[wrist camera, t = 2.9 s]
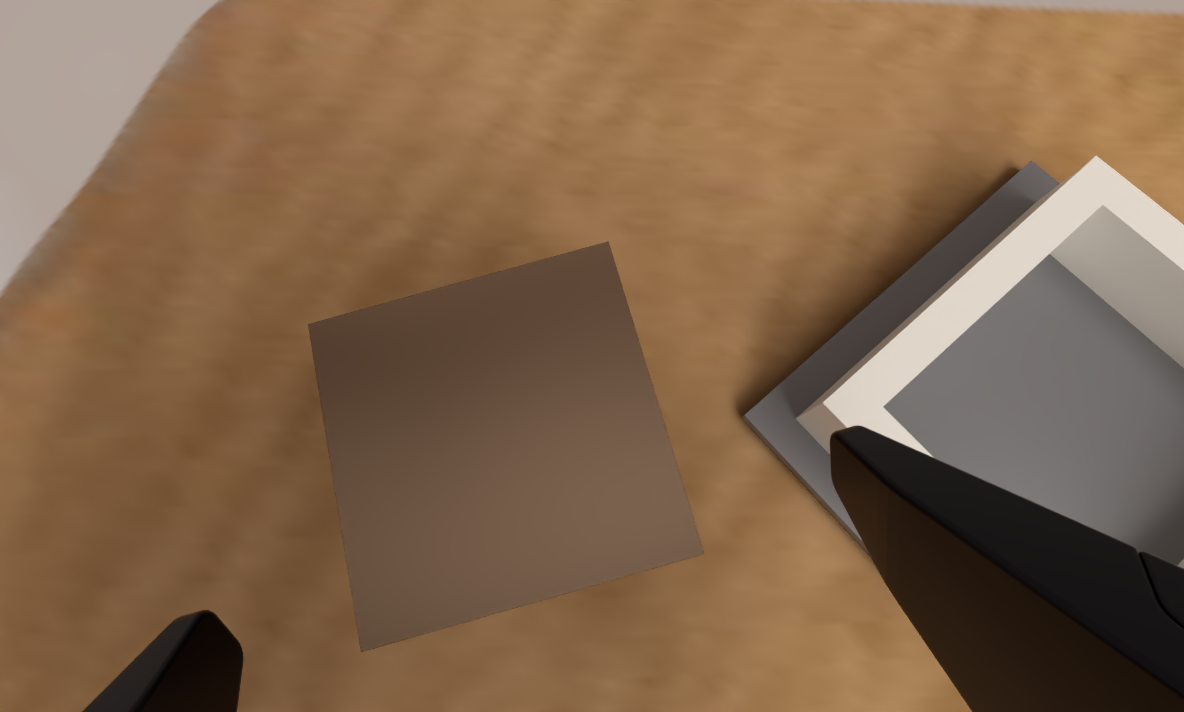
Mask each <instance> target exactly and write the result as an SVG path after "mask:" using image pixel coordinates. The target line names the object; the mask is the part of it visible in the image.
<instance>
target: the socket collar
mask: <svg viewBox="0 0 1184 712" xmlns="http://www.w3.org/2000/svg"><path fill="white" fill-rule="evenodd" d="M742 419H743V420H744V422H745V423H746V424H747V425H748V426H749V427H750V428H751V429H752V430H753V431H754V432H755V433H756V434H757V435H758V437H759V438H760V439H761V440H762V441H763V442H764V443H765V444H766V445H767V446H768V447H769V448H770V449H771V450H772V452H773V453H774V454H775V455H776V456H777V457H778V458H779V459H780V460H781V461H782V462H783V463H784V464H785V465H786V467H787V468H788V469H789V470H790V471H791V472H792V473H793V474H794V475H795V476H796V477H797V478H798V479H799V481H800V482H801V483H802V484H803V485H804V486H805V487H806V488H807V489H808V490H809V491H810V492H811V493H812V494H813V496H814V497H815V498H816V499H817V500H818V501H819V502H820V503H821V504H822V505H823V506H824V507H825V508H826V509H827V511H828V512H829V513H830V514H831V515H832V516H833V517H834V518H835V519H836V520H837V521H838V522H839V523H840V524H841V526H842V527H843V528H844V529H845V530H846V531H847V532H848V533H849V534H850V535H851V536H852V537H853V538H854V540H855V541H856V542H857V543H858V544H859V545H860V546H861V547H862V548H863V549H864V550H865V551H866V552H867V553H868V555H869V556H870V554H869V552H868V551H867V549H866V547H865V545H864V543H863V541H862V539H861V537H860V536H859V534H858V532H857V530H856V528H855V526H854V524H853V522H852V521H851V519H850V517H849V515H848V513H847V511H846V509H845V507H844V505H843V504H842V502H841V500H840V498H839V496H838V494H837V492H836V490H835V488H834V485H833V482H832V478H831V464H830V437H831V434H832V433H833V432H835V431H838V430H841V429H845V428H848V427H852V426H857V425H859V426H863V427H866V428H868V429H871V430H873V431H875V432H877V433H880V434H882V435H884V436H886V437H889V438H891V439H893V440H895V441H898V442H900V443H902V444H904V445H907V446H909V447H911V448H913V449H916V450H918V451H920V452H922V453H925V454H927V455H929V456H931V457H934V458H936V459H938V460H940V461H943V462H945V463H947V464H949V465H952V466H954V467H956V468H958V469H961V470H963V471H965V472H967V473H970V474H972V475H974V476H976V477H979V478H981V479H983V480H985V481H988V482H990V483H992V484H994V485H997V486H999V487H1001V488H1003V489H1006V490H1008V491H1010V492H1012V493H1015V494H1017V495H1019V496H1021V497H1024V498H1026V499H1028V500H1030V501H1033V502H1035V503H1037V504H1039V505H1042V506H1044V507H1046V508H1048V509H1051V510H1053V511H1055V512H1057V513H1060V514H1062V515H1064V516H1066V517H1069V518H1071V519H1073V520H1075V521H1078V522H1080V523H1082V524H1084V525H1087V526H1089V527H1091V528H1093V529H1096V530H1098V531H1100V532H1102V533H1105V534H1107V535H1109V536H1111V537H1114V538H1116V539H1118V540H1120V541H1123V542H1125V543H1127V544H1129V545H1132V546H1134V547H1135V548H1136V549H1137V550H1138V552H1141V551H1146V552H1148V553H1150V554H1152V555H1155V556H1157V557H1159V558H1161V559H1164V560H1166V561H1168V562H1171V563H1173V564H1175V565H1177V566H1180V567H1182V568H1184V225H1183V224H1182V223H1181V222H1179V221H1178V220H1177V219H1175V218H1174V217H1173V216H1172V215H1170V214H1169V213H1168V212H1167V211H1165V210H1164V209H1163V208H1162V207H1160V206H1159V205H1158V204H1157V203H1155V202H1154V201H1153V200H1152V199H1150V198H1149V197H1148V196H1147V195H1145V194H1144V193H1143V192H1141V191H1140V190H1139V189H1138V188H1136V187H1135V186H1134V185H1133V184H1131V183H1130V182H1129V181H1128V180H1126V179H1125V178H1124V177H1123V176H1121V175H1120V174H1119V173H1118V172H1116V171H1115V170H1114V169H1112V168H1111V167H1110V166H1109V165H1107V164H1106V163H1105V162H1104V161H1102V160H1101V159H1100V158H1099V157H1097V156H1095V157H1094V158H1093V159H1091V160H1090V161H1089V162H1087V163H1086V164H1085V165H1083V166H1082V167H1081V168H1080V169H1078V170H1077V171H1076V172H1074V173H1073V174H1072V175H1071V176H1069V177H1068V178H1067V179H1065V180H1064V181H1063V182H1062V183H1060V184H1059V183H1058V182H1057V181H1056V180H1054V179H1053V178H1052V177H1051V176H1050V175H1048V174H1047V173H1046V172H1045V171H1043V170H1042V169H1041V168H1040V167H1039V166H1037V165H1036V164H1035V163H1034V162H1032V161H1030V162H1029V163H1028V164H1027V165H1026V166H1025V167H1024V168H1022V169H1021V170H1020V171H1019V172H1018V173H1017V174H1016V175H1015V176H1013V177H1012V178H1011V179H1010V180H1009V181H1008V182H1007V183H1006V184H1004V185H1003V186H1002V187H1001V188H1000V189H999V190H998V191H996V192H995V193H994V194H993V195H992V196H991V197H990V198H989V199H987V200H986V201H985V202H984V203H983V204H982V205H981V206H980V207H978V208H977V209H976V210H975V211H974V212H973V213H972V214H971V215H969V216H968V217H967V218H966V219H965V220H964V221H963V222H962V223H960V224H959V225H958V226H957V227H956V228H955V229H954V230H953V231H951V232H950V233H949V234H948V235H947V236H946V237H945V238H944V239H942V240H941V241H940V242H939V243H938V244H937V245H936V246H934V247H933V248H932V249H931V250H930V251H929V252H928V253H927V254H925V255H924V256H923V257H922V258H921V259H920V260H919V261H918V262H916V263H915V264H914V265H913V266H912V267H911V268H910V269H909V270H907V271H906V272H905V273H904V274H903V275H902V276H901V277H900V278H898V279H897V280H896V281H895V282H894V283H893V284H892V285H891V286H889V287H888V288H887V289H886V290H885V291H884V292H883V293H882V294H880V295H879V296H878V297H877V298H876V299H875V300H874V301H872V302H871V303H870V304H869V305H868V306H867V307H866V308H865V309H863V310H862V311H861V312H860V313H859V314H858V315H857V316H856V317H854V318H853V319H852V320H851V321H850V322H849V323H848V324H847V325H845V326H844V327H843V328H842V329H841V330H840V331H839V332H838V333H836V334H835V335H834V336H833V337H832V338H831V339H830V340H829V341H827V342H826V343H825V344H824V345H823V346H822V347H821V348H820V349H818V350H817V351H816V352H815V353H814V354H813V355H812V356H810V357H809V358H808V359H807V360H806V361H805V362H804V363H803V364H801V365H800V366H799V367H798V368H797V369H796V370H795V371H794V372H792V373H791V374H790V375H789V376H788V377H787V378H786V379H785V380H783V381H782V382H781V383H780V384H779V385H778V386H777V387H776V388H774V389H773V390H772V391H771V392H770V393H769V394H768V395H767V396H765V397H764V398H763V399H762V400H761V401H760V402H759V403H758V404H756V405H755V406H754V407H753V408H752V409H751V410H750V411H748V412H747V413H746V414H745V415H744V416H743V417H742ZM870 557H871V556H870Z"/></svg>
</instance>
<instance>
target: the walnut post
mask: <svg viewBox="0 0 1184 712" xmlns="http://www.w3.org/2000/svg"><path fill="white" fill-rule="evenodd" d="M308 327H309V333H310V339H311V345H312V351H313V358H314V364H315V370H316V376H317V382H318V389H319V395H320V401H321V407H322V413H323V420H324V426H325V432H326V438H327V444H328V451H329V457H330V463H331V469H332V475H333V482H334V488H335V494H336V500H337V506H338V513H339V519H340V525H341V531H342V537H343V543H344V550H345V556H346V562H347V568H348V574H349V581H350V587H351V593H352V599H353V605H354V612H355V618H356V624H357V630H358V636H359V643H360V649H361V652H363V651H367V650H370V649H374V648H377V647H381V646H384V645H388V644H391V643H395V642H398V641H402V640H405V639H409V638H412V637H416V636H419V635H423V634H426V633H430V632H433V631H437V630H440V629H444V628H447V627H451V626H454V625H458V624H461V623H465V622H468V621H472V620H475V619H479V618H482V617H486V616H489V615H493V614H496V613H500V612H503V611H507V610H510V609H514V608H517V607H521V606H524V605H528V604H531V603H535V602H538V601H542V600H545V599H549V598H552V597H556V596H559V595H563V594H566V593H570V592H573V591H577V590H580V589H584V588H587V587H591V586H594V585H598V584H601V583H605V582H608V581H612V580H615V579H619V578H622V577H626V576H629V575H633V574H636V573H640V572H643V571H647V570H650V569H654V568H657V567H661V566H664V565H668V564H671V563H675V562H678V561H682V560H685V559H689V558H692V557H696V556H699V555H703V554H704V551H703V548H702V545H701V541H700V538H699V535H698V532H697V528H696V525H695V522H694V519H693V515H692V512H691V509H690V506H689V502H688V499H687V496H686V493H685V489H684V486H683V483H682V480H681V476H680V473H679V470H678V467H677V463H676V460H675V457H674V453H673V450H672V447H671V444H670V440H669V437H668V434H667V431H666V427H665V424H664V421H663V418H662V414H661V411H660V408H659V405H658V401H657V398H656V395H655V392H654V388H653V385H652V382H651V379H650V375H649V372H648V369H647V366H646V362H645V359H644V356H643V352H642V349H641V346H640V343H639V339H638V336H637V333H636V330H635V326H634V323H633V320H632V317H631V313H630V310H629V307H628V304H627V300H626V297H625V294H624V291H623V287H622V284H621V281H620V278H619V274H618V271H617V268H616V265H615V261H614V258H613V255H612V252H611V248H610V245H609V242H605V243H601V244H597V245H594V246H590V247H586V248H583V249H579V250H576V251H572V252H568V253H565V254H561V255H557V256H554V257H550V258H547V259H543V260H539V261H536V262H532V263H528V264H525V265H521V266H518V267H514V268H510V269H507V270H503V271H499V272H496V273H492V274H489V275H485V276H481V277H478V278H474V279H470V280H467V281H463V282H460V283H456V284H452V285H449V286H445V287H441V288H438V289H434V290H431V291H427V292H423V293H420V294H416V295H412V296H409V297H405V298H402V299H398V300H394V301H391V302H387V303H383V304H380V305H376V306H373V307H369V308H365V309H362V310H358V311H354V312H351V313H347V314H344V315H340V316H336V317H333V318H329V319H325V320H322V321H318V322H315V323H311V324H308Z"/></svg>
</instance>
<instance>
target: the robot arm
mask: <svg viewBox="0 0 1184 712" xmlns="http://www.w3.org/2000/svg"><path fill="white" fill-rule="evenodd" d="M830 464H831V478H832V482H833V485H834V488H835V490H836V492H837V494H838V496H839V498H840V500H841V502H842V504H843V505H844V507H845V509H846V511H847V513H848V515H849V517H850V519H851V521H852V522H853V524H854V526H855V528H856V530H857V532H858V534H859V536H860V537H861V539H862V541H863V543H864V545H865V547H866V549H867V551H868V552H869V554H870V556H871V558H872V560H873V562H874V564H875V566H876V567H877V569H878V571H879V573H880V575H881V576H882V578H883V580H884V582H885V584H886V585H887V587H888V588H889V590H890V591H891V593H892V594H893V596H894V598H895V599H896V601H897V602H898V604H899V605H900V606H901V608H902V609H903V611H904V612H905V614H906V615H907V617H908V618H909V620H910V621H911V623H912V624H913V626H914V627H915V628H916V630H917V631H918V633H919V634H920V636H921V637H922V639H923V640H924V642H925V643H926V645H927V646H928V647H929V649H930V650H931V652H932V653H933V655H934V656H935V658H936V659H937V661H938V662H939V664H940V665H941V667H942V668H943V669H944V671H945V672H946V674H947V675H948V677H949V678H950V680H951V681H952V683H953V684H954V686H955V687H956V689H957V690H958V691H959V693H960V694H961V696H962V697H963V699H964V700H965V702H966V703H967V705H968V706H969V708H970V709H971V710H972V712H1184V568H1182V567H1180V566H1177V565H1175V564H1173V563H1171V562H1168V561H1166V560H1164V559H1161V558H1159V557H1157V556H1155V555H1152V554H1150V553H1148V552H1146V551H1141V552H1138V550H1137V549H1136V548H1135V547H1134V546H1132V545H1129V544H1127V543H1125V542H1123V541H1120V540H1118V539H1116V538H1114V537H1111V536H1109V535H1107V534H1105V533H1102V532H1100V531H1098V530H1096V529H1093V528H1091V527H1089V526H1087V525H1084V524H1082V523H1080V522H1078V521H1075V520H1073V519H1071V518H1069V517H1066V516H1064V515H1062V514H1060V513H1057V512H1055V511H1053V510H1051V509H1048V508H1046V507H1044V506H1042V505H1039V504H1037V503H1035V502H1033V501H1030V500H1028V499H1026V498H1024V497H1021V496H1019V495H1017V494H1015V493H1012V492H1010V491H1008V490H1006V489H1003V488H1001V487H999V486H997V485H994V484H992V483H990V482H988V481H985V480H983V479H981V478H979V477H976V476H974V475H972V474H970V473H967V472H965V471H963V470H961V469H958V468H956V467H954V466H952V465H949V464H947V463H945V462H943V461H940V460H938V459H936V458H934V457H931V456H929V455H927V454H925V453H922V452H920V451H918V450H916V449H913V448H911V447H909V446H907V445H904V444H902V443H900V442H898V441H895V440H893V439H891V438H889V437H886V436H884V435H882V434H880V433H877V432H875V431H873V430H871V429H868V428H866V427H863V426H859V425H857V426H852V427H848V428H845V429H841V430H838V431H835V432H833V433H832V434H831V437H830ZM242 668H243V651H242V647H241V645H240V643H239V642H238V640H237V639H236V638H235V637H234V635H233V634H232V633H231V632H230V631H229V630H228V628H227V627H226V626H225V625H224V624H223V622H222V621H221V620H220V619H219V618H218V617H217V615H216V614H215V613H213V612H211V611H209V610H202V611H198V612H195V613H191V614H188V615H184V616H181V617H179V618H177V619H175V620H174V621H173V622H172V623H170V624H169V625H168V626H167V627H166V628H165V629H164V630H163V631H162V632H161V633H160V634H159V635H158V636H157V637H156V638H155V639H154V640H153V641H152V642H151V643H150V644H149V645H148V646H147V647H146V648H145V649H144V650H143V651H142V652H141V653H140V654H139V655H138V656H137V657H136V658H135V659H134V660H133V661H132V662H131V663H130V664H129V665H128V666H127V667H126V668H125V669H124V670H123V671H122V672H121V673H120V674H119V675H118V676H117V677H116V678H115V679H114V680H113V681H112V682H111V683H110V684H109V685H108V686H107V687H106V688H105V689H104V690H103V691H102V692H101V693H100V694H99V695H98V696H97V697H96V698H95V699H94V700H93V701H92V702H91V703H90V704H89V705H88V706H87V707H86V708H85V709H84V710H83V711H82V712H237V706H238V699H239V691H240V683H241V675H242Z"/></svg>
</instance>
